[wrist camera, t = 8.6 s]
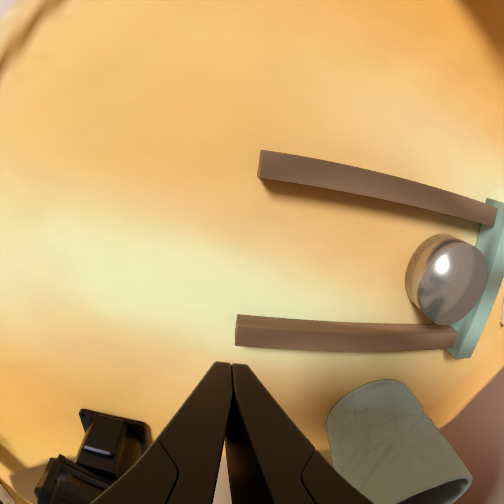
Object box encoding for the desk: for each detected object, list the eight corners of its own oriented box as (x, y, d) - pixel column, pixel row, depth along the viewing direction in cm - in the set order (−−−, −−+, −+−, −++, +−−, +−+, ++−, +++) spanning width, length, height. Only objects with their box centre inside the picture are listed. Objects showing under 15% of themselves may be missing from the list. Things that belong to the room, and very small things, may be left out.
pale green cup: (417, 415, 26) (465, 498, 15) (330, 456, 27) (358, 550, 15) (407, 353, 23) (481, 455, 11) (298, 405, 24) (329, 530, 12)
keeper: (450, 307, 22) (470, 324, 19) (394, 306, 21) (413, 326, 19) (471, 238, 20) (495, 249, 17) (415, 228, 20) (439, 240, 17)
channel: (455, 342, 23) (470, 357, 21) (233, 339, 21) (234, 361, 19) (500, 203, 19) (520, 209, 17) (262, 141, 17) (266, 140, 15)
